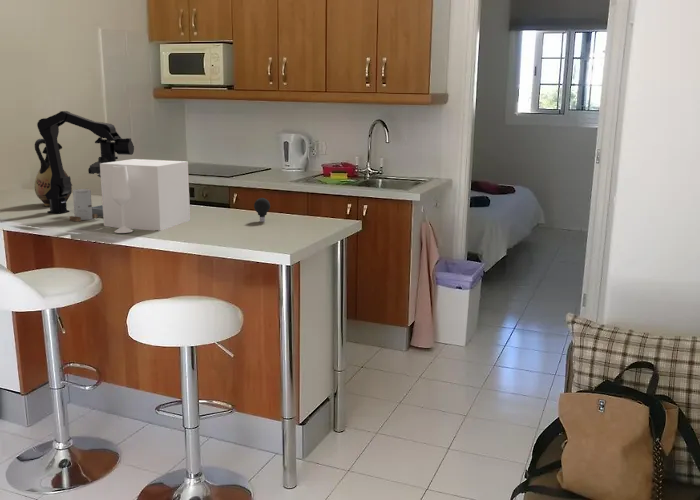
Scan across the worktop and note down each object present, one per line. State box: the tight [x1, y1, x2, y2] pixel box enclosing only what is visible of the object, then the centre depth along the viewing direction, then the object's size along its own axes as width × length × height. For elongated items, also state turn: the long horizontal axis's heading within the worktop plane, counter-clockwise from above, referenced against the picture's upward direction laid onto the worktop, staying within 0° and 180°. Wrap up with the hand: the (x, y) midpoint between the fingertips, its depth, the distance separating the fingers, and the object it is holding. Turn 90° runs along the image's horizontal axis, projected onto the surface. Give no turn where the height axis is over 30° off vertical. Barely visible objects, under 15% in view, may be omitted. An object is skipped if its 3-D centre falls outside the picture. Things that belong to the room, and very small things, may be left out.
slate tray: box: [92, 204, 103, 217], centre depth 287 cm, size 14×14×3 cm
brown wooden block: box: [69, 214, 98, 222], centre depth 274 cm, size 5×10×2 cm, turn 152°
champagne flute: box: [112, 166, 134, 234], centre depth 248 cm, size 7×7×24 cm
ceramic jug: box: [34, 138, 73, 208], centre depth 304 cm, size 17×15×30 cm
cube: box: [100, 158, 191, 232], centre depth 264 cm, size 25×21×24 cm
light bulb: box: [253, 197, 271, 223], centre depth 270 cm, size 6×6×10 cm
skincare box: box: [72, 188, 93, 221], centre depth 272 cm, size 6×4×12 cm
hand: (110, 191), depth 285 cm, fingers closed
